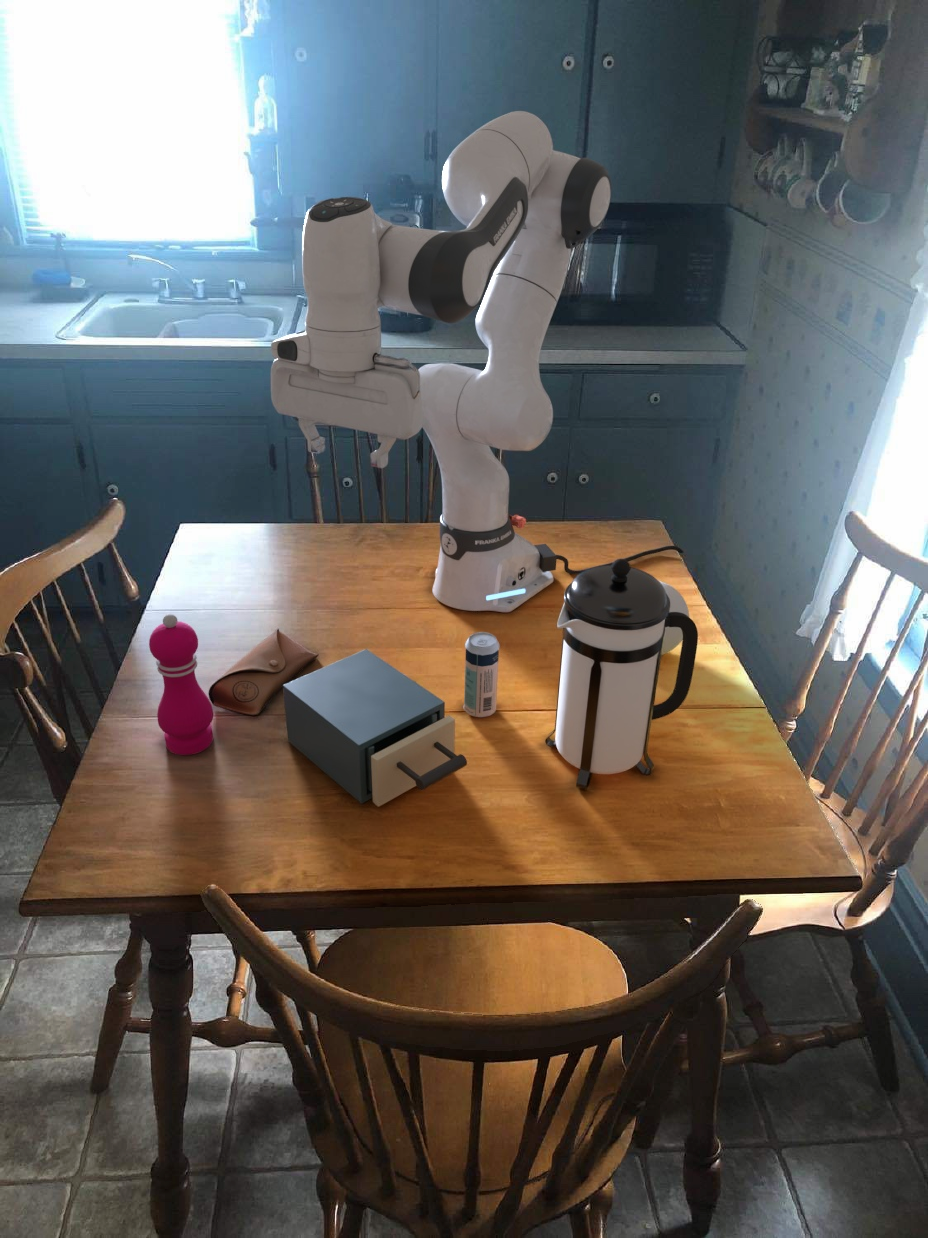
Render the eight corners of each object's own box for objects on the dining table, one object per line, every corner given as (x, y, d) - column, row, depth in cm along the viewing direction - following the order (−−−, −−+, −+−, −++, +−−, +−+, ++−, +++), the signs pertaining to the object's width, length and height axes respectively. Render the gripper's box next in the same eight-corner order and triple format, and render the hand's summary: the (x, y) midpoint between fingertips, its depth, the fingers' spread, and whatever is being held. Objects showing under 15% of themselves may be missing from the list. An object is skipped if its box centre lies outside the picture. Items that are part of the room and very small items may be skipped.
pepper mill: (167, 726, 132) (145, 601, 122) (220, 724, 132) (202, 599, 122) (157, 759, 126) (133, 630, 115) (213, 757, 126) (193, 629, 116)
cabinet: (444, 758, 127) (445, 701, 122) (361, 804, 119) (358, 745, 114) (368, 702, 137) (366, 648, 133) (287, 741, 129) (282, 685, 125)
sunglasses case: (259, 716, 133) (234, 676, 131) (225, 726, 137) (201, 688, 135) (322, 652, 148) (300, 616, 146) (290, 663, 151) (268, 628, 150)
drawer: (482, 785, 121) (484, 739, 117) (405, 830, 114) (405, 783, 110) (381, 711, 134) (380, 667, 130) (307, 747, 127) (303, 702, 123)
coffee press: (638, 812, 118) (670, 604, 103) (524, 770, 125) (538, 569, 110) (682, 739, 132) (716, 544, 116) (576, 704, 138) (595, 516, 123)
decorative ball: (608, 627, 157) (615, 563, 151) (681, 634, 155) (692, 570, 149) (606, 667, 147) (614, 600, 141) (685, 674, 145) (696, 607, 139)
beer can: (500, 704, 138) (504, 634, 132) (490, 722, 134) (493, 651, 128) (469, 697, 139) (471, 627, 133) (458, 715, 135) (460, 644, 129)
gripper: (433, 355, 111) (431, 467, 118) (291, 331, 119) (297, 437, 126) (405, 367, 106) (405, 483, 113) (259, 341, 114) (267, 451, 121)
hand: (347, 458), depth 119 cm, fingers open, 8 cm apart
